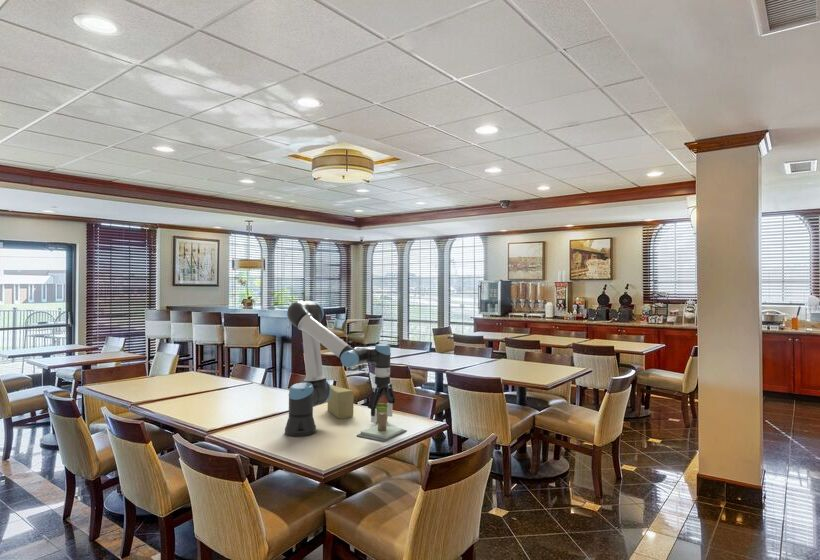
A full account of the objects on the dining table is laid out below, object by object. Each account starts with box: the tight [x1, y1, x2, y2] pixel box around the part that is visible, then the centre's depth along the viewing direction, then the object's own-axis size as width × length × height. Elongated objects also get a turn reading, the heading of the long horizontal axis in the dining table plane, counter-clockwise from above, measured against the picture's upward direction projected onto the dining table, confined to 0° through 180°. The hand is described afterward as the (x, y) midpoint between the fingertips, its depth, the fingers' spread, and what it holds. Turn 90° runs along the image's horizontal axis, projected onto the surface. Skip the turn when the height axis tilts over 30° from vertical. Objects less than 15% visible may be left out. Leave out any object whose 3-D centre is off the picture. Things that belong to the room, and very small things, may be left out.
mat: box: [356, 429, 408, 443], centre depth 232 cm, size 20×16×1 cm
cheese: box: [327, 384, 355, 420], centre depth 270 cm, size 22×10×15 cm, turn 36°
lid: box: [360, 413, 404, 439], centre depth 232 cm, size 15×15×9 cm
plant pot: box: [376, 402, 389, 423], centre depth 254 cm, size 9×9×9 cm
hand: (381, 419), depth 232 cm, fingers open, 13 cm apart
